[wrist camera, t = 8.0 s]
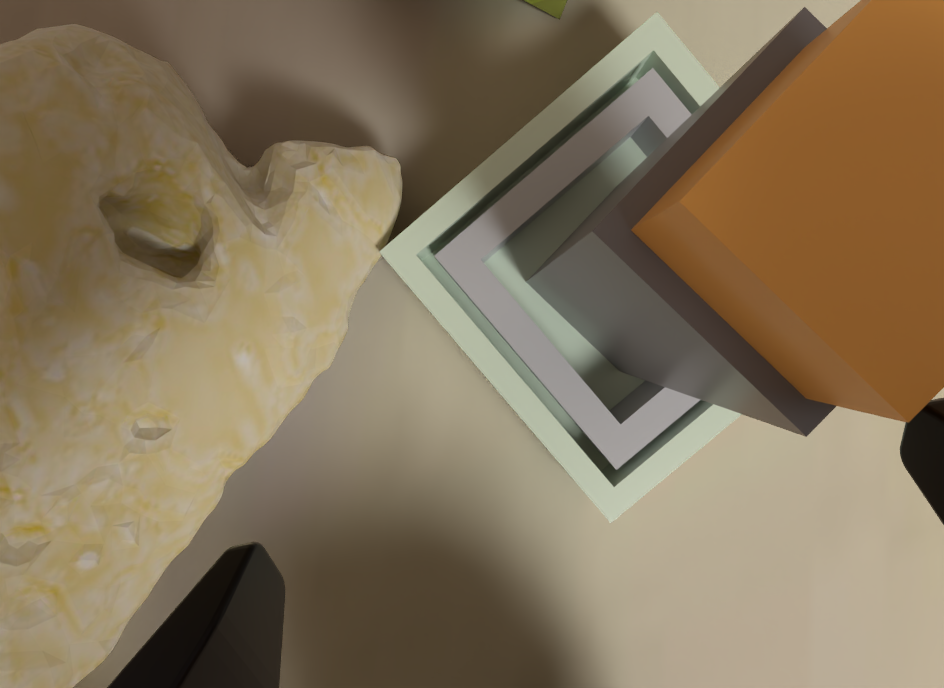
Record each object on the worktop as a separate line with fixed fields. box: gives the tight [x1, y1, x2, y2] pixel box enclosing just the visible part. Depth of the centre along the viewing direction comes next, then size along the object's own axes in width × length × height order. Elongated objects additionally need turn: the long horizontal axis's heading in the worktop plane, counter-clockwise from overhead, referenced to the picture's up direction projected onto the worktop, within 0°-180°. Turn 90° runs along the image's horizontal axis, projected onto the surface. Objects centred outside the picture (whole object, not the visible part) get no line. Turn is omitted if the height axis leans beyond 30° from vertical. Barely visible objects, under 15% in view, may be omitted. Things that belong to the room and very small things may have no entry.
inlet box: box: [379, 12, 742, 523], centre depth 19 cm, size 11×11×3 cm
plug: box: [526, 0, 944, 437], centre depth 13 cm, size 4×4×13 cm
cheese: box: [0, 24, 402, 688], centre depth 17 cm, size 15×7×15 cm
